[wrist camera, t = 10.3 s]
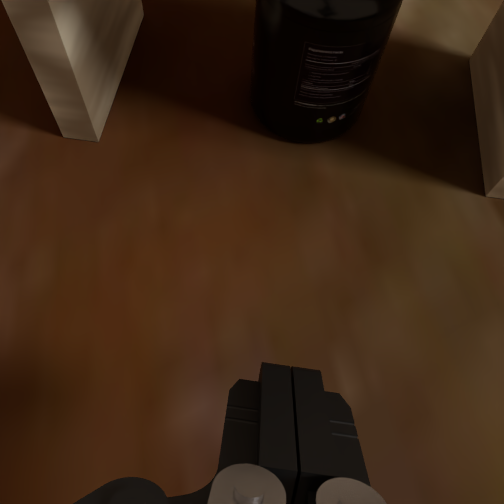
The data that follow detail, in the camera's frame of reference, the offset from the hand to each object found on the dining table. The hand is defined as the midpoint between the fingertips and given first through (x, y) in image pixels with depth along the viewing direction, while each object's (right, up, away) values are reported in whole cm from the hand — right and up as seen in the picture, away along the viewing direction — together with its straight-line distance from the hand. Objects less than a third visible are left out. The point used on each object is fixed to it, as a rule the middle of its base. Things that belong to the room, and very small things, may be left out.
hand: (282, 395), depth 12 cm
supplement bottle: (+2, +13, +17) cm, 21 cm away
